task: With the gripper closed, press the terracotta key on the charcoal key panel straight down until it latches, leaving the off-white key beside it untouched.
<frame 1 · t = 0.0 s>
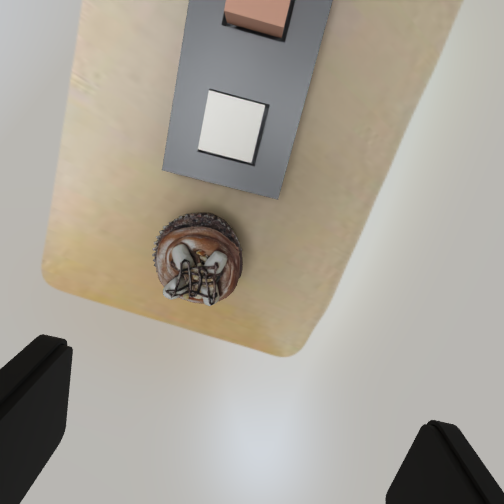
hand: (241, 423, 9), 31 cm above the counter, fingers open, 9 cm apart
cupcake: (204, 244, 40), on the counter
key panel: (247, 74, 34), on the counter
off-white key: (232, 128, 31), point 5 cm above the counter, slide at 0.0 cm
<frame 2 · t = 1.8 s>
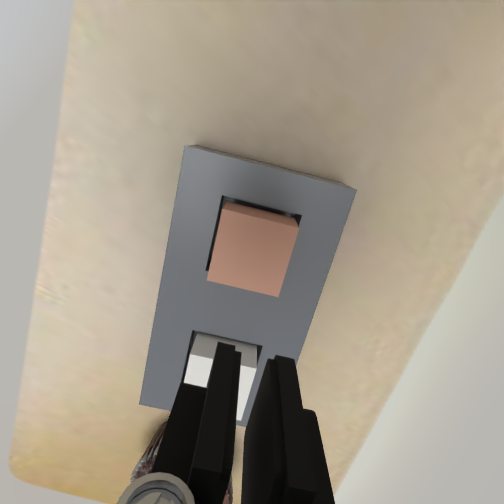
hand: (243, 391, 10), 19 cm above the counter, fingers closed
cupcake: (191, 443, 36), on the counter
terracotta key: (252, 248, 23), point 5 cm above the counter, slide at 0.0 cm
key panel: (238, 288, 30), on the counter
off-white key: (218, 375, 27), point 5 cm above the counter, slide at 0.0 cm
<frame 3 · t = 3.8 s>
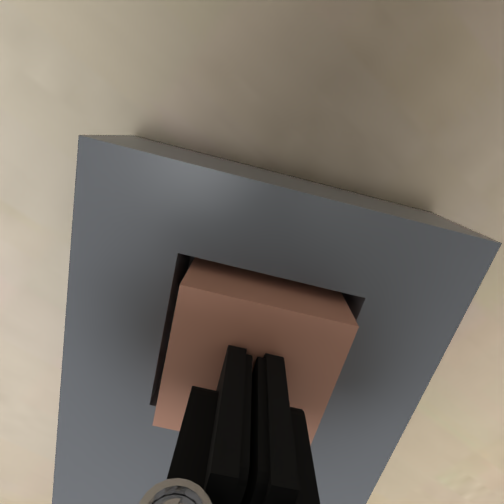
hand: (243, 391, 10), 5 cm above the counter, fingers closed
terracotta key: (250, 348, 11), point 4 cm above the counter, slide at 1.4 cm, touching gripper
key panel: (225, 396, 16), on the counter
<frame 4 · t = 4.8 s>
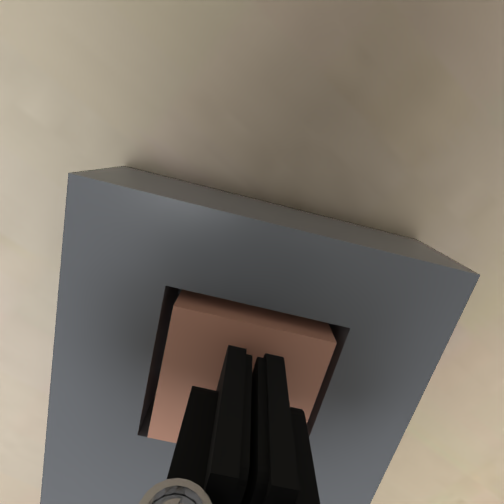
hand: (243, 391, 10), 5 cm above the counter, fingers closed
terracotta key: (239, 363, 12), point 3 cm above the counter, slide at 2.1 cm
key panel: (216, 421, 16), on the counter
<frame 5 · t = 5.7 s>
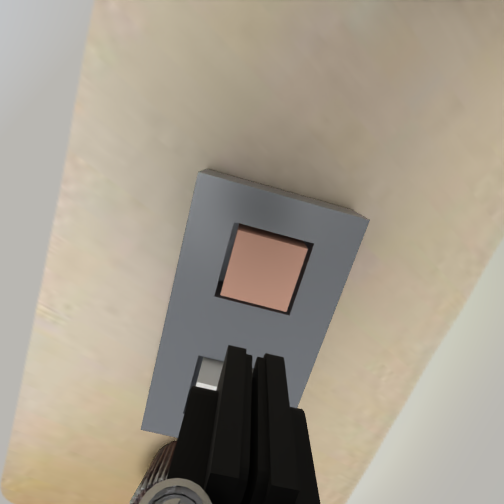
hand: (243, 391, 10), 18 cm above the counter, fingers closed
cupcake: (191, 467, 35), on the counter
terracotta key: (262, 265, 25), point 3 cm above the counter, slide at 2.1 cm
key panel: (244, 311, 29), on the counter
off-white key: (224, 402, 26), point 5 cm above the counter, slide at 0.0 cm
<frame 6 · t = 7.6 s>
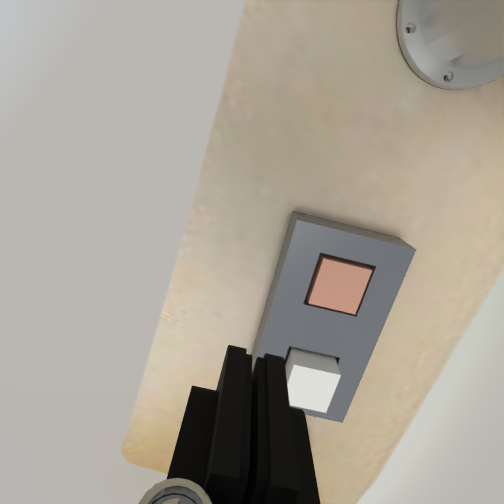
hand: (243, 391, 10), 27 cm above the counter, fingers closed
terracotta key: (336, 281, 35), point 3 cm above the counter, slide at 2.1 cm
key panel: (316, 313, 39), on the counter
off-white key: (308, 379, 36), point 5 cm above the counter, slide at 0.0 cm
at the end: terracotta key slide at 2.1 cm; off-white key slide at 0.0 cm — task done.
